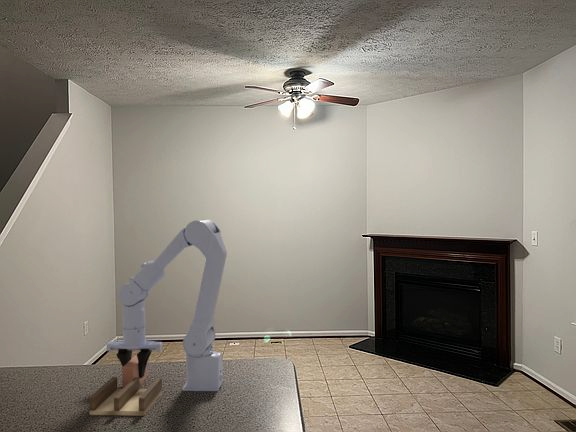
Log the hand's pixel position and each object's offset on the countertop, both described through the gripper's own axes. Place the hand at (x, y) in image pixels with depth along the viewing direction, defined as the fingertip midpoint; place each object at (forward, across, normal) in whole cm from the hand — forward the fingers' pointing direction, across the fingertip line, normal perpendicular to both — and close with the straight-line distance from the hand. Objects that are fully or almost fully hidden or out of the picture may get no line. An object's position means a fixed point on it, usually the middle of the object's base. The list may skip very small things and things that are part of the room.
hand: (135, 376), depth 131 cm
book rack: (+2, -3, +13) cm, 13 cm away
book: (+2, 0, 0) cm, 2 cm away
